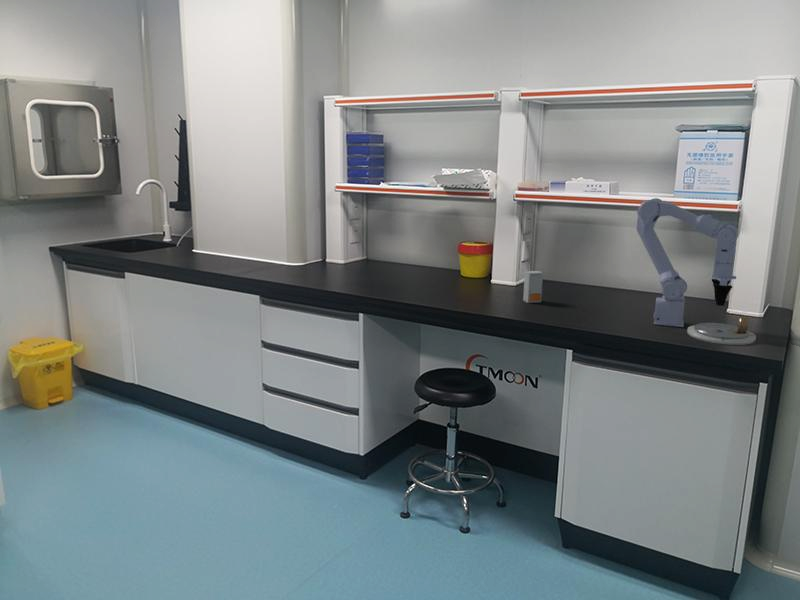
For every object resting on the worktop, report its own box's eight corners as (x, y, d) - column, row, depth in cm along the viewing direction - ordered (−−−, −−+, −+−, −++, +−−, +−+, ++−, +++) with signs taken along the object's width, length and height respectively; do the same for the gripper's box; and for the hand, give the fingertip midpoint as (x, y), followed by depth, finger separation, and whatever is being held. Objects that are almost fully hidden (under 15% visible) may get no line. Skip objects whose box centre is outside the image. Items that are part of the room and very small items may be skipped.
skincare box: (527, 303, 253) (529, 273, 250) (522, 300, 257) (524, 271, 254) (541, 302, 254) (543, 272, 251) (536, 299, 258) (538, 270, 255)
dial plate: (687, 340, 204) (688, 336, 204) (686, 325, 222) (687, 321, 222) (759, 348, 196) (759, 344, 196) (752, 331, 214) (752, 327, 214)
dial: (688, 332, 207) (690, 315, 206) (700, 322, 220) (702, 306, 218) (743, 341, 198) (746, 323, 197) (753, 330, 210) (755, 313, 209)
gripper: (739, 267, 202) (734, 308, 206) (736, 259, 215) (731, 299, 219) (715, 265, 205) (710, 306, 208) (712, 258, 218) (708, 297, 221)
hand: (719, 302), depth 214 cm, fingers open, 7 cm apart
